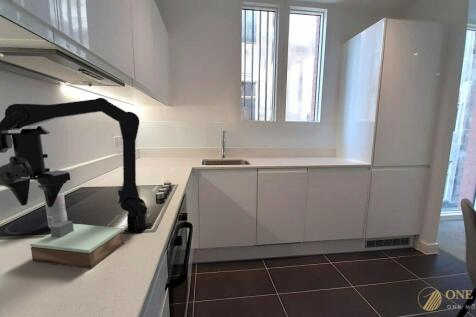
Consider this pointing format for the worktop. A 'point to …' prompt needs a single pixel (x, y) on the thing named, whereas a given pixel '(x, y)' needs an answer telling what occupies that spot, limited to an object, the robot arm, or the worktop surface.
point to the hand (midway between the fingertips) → (37, 206)
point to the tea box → (77, 254)
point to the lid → (76, 237)
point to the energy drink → (56, 210)
